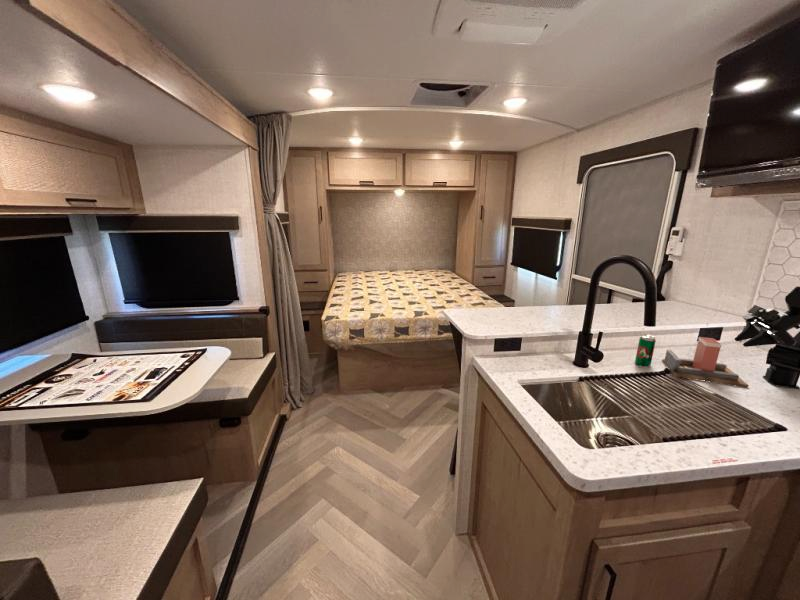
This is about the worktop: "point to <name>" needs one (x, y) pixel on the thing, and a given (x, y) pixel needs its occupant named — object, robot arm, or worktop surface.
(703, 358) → the red plug
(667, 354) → the guide rails
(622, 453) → the worktop surface
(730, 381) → the board
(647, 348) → the soda can
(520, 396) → the worktop surface
